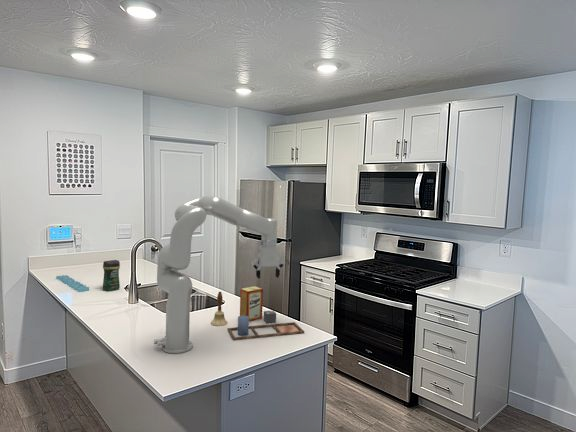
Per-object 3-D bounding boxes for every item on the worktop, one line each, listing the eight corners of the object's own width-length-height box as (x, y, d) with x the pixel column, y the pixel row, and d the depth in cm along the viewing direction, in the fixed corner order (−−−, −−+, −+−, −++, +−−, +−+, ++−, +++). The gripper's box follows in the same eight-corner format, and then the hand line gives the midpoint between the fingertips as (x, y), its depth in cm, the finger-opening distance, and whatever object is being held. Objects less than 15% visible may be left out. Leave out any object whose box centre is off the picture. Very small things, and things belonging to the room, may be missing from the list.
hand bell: (231, 323, 200) (231, 292, 198) (217, 327, 194) (218, 294, 192) (220, 319, 205) (221, 288, 204) (207, 323, 199) (207, 291, 198)
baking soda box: (246, 322, 203) (247, 290, 201) (239, 318, 208) (240, 287, 206) (262, 318, 209) (262, 288, 207) (254, 315, 214) (255, 285, 212)
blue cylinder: (238, 336, 183) (239, 319, 183) (236, 332, 188) (236, 315, 187) (249, 335, 185) (250, 318, 184) (246, 331, 190) (247, 315, 189)
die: (266, 323, 201) (266, 313, 201) (263, 320, 206) (263, 310, 205) (275, 323, 203) (276, 313, 202) (272, 319, 208) (273, 310, 207)
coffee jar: (106, 292, 247) (106, 262, 245) (100, 289, 252) (100, 260, 251) (121, 289, 254) (122, 260, 253) (115, 287, 259) (115, 258, 258)
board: (233, 340, 178) (233, 338, 178) (227, 330, 190) (227, 328, 190) (304, 333, 190) (304, 331, 190) (294, 324, 202) (294, 322, 202)
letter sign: (55, 279, 275) (55, 275, 275) (66, 278, 280) (66, 274, 280) (79, 293, 244) (79, 289, 244) (90, 291, 249) (90, 287, 249)
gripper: (254, 244, 192) (253, 280, 194) (288, 244, 198) (286, 278, 200) (250, 242, 199) (249, 276, 201) (282, 242, 205) (281, 275, 207)
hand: (267, 277), depth 200 cm, fingers open, 9 cm apart
